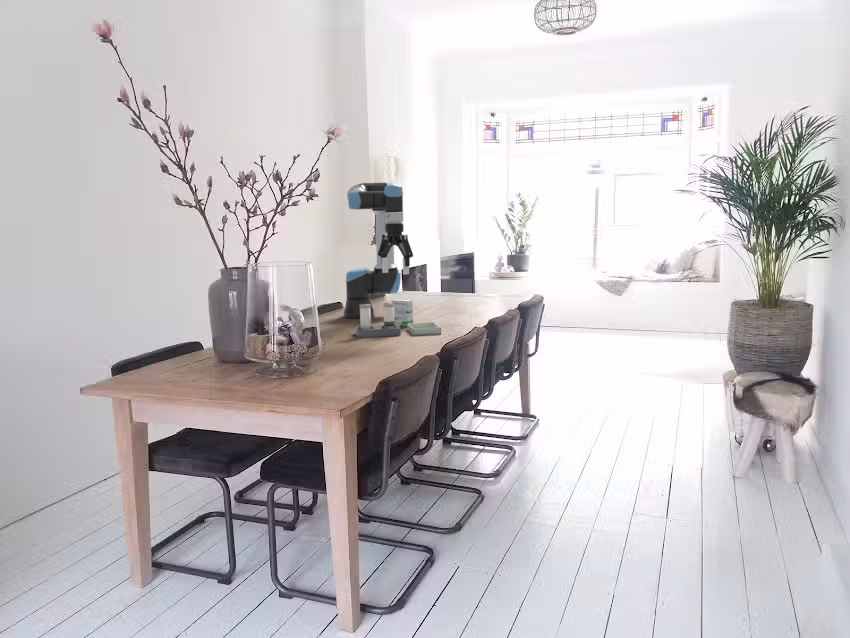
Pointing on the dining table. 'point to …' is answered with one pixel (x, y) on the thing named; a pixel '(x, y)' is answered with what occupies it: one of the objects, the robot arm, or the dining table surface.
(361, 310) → the fuse
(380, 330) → the board
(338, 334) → the dining table surface
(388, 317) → the fuse
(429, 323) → the parts tray
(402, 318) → the ink box
